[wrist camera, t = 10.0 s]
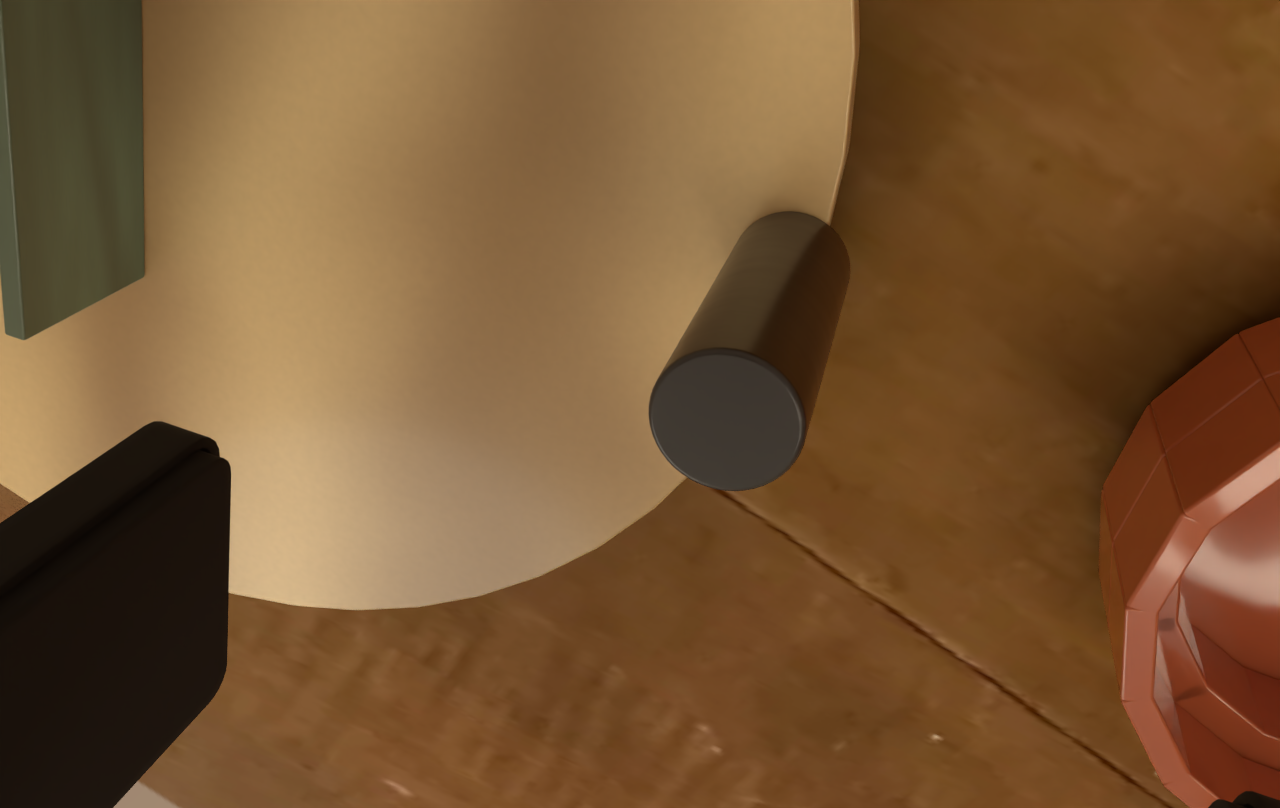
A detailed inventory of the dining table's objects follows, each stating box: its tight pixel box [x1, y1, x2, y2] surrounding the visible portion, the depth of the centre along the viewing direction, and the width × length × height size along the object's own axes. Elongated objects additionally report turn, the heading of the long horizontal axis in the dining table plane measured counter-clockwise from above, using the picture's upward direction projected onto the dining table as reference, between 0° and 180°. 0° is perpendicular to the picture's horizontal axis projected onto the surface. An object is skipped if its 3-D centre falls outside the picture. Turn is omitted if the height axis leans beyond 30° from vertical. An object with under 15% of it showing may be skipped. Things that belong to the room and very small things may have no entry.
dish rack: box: [0, 0, 860, 610], centre depth 22 cm, size 30×29×8 cm
